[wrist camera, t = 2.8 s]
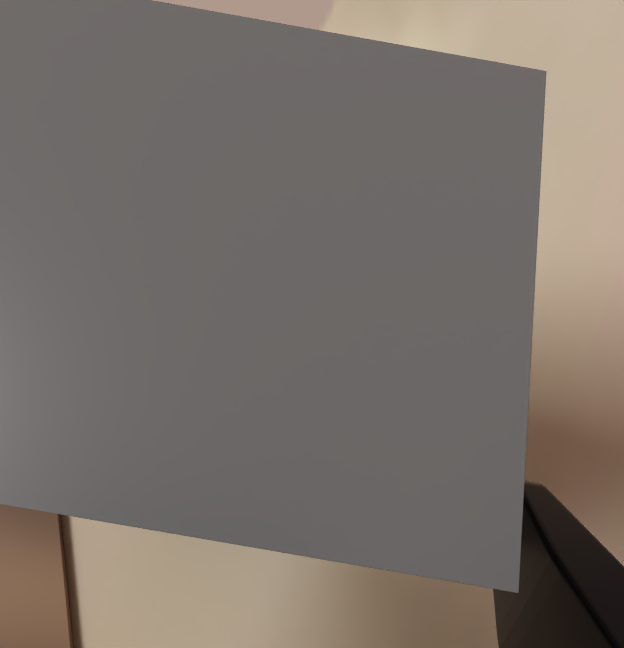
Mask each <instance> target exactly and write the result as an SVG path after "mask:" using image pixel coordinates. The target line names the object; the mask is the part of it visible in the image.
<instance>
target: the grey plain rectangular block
mask: <svg viewBox="0 0 624 648" xmlns="http://www.w3.org/2000/svg"><path fill="white" fill-rule="evenodd" d="M545 86H546V71H543V70H537V69H531V68H526V67H520V66H515V65H509V64H504V63H498V62H492V61H487V60H481V59H476V58H470V57H465V56H459V55H453V54H448V53H442V52H437V51H431V50H426V49H420V48H414V47H409V46H403V45H398V44H392V43H387V42H381V41H375V40H370V39H364V38H359V37H353V36H347V35H342V34H336V33H331V32H325V31H320V30H314V29H308V28H303V27H297V26H292V25H286V24H281V23H275V22H269V21H264V20H258V19H252V18H247V17H241V16H236V15H230V14H225V13H219V12H214V11H208V10H203V9H197V8H191V7H185V6H180V5H175V4H169V3H163V2H158V1H152V0H0V504H4V505H9V506H15V507H21V508H27V509H33V510H39V511H44V512H50V513H56V514H62V515H68V516H73V517H79V518H85V519H91V520H97V521H103V522H108V523H114V524H120V525H126V526H132V527H137V528H143V529H149V530H155V531H161V532H166V533H172V534H178V535H184V536H190V537H196V538H201V539H207V540H213V541H219V542H225V543H230V544H236V545H242V546H248V547H254V548H260V549H265V550H271V551H277V552H283V553H289V554H294V555H300V556H306V557H312V558H318V559H323V560H329V561H335V562H341V563H347V564H353V565H358V566H364V567H370V568H376V569H382V570H387V571H393V572H399V573H405V574H411V575H416V576H422V577H428V578H434V579H440V580H446V581H451V582H457V583H463V584H469V585H475V586H480V587H486V588H492V589H498V590H504V591H510V592H515V593H518V591H519V572H520V554H521V535H522V516H523V498H524V479H525V460H526V441H527V423H528V404H529V385H530V367H531V348H532V329H533V310H534V292H535V273H536V254H537V236H538V217H539V198H540V179H541V161H542V142H543V123H544V105H545Z"/></svg>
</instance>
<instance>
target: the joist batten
mask: <svg viewBox="0 0 624 648" xmlns="http://www.w3.org/2000/svg"><path fill="white" fill-rule="evenodd" d="M0 648H73V641H72V630H71V620H70V609H69V599H68V588H67V578H66V567H65V557H64V547H63V536H62V526H61V515H60V514H56V513H50V512H44V511H39V510H33V509H27V508H21V507H15V506H9V505H4V504H0Z"/></svg>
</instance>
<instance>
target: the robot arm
mask: <svg viewBox="0 0 624 648" xmlns="http://www.w3.org/2000/svg"><path fill="white" fill-rule="evenodd" d="M493 592H494V604H495V615H496V627H497V637H498V646H499V648H624V566H623V565H622V564H621V563H620V562H619V561H618V560H617V559H616V558H615V557H614V556H613V555H612V554H611V553H610V552H609V551H608V550H607V549H606V548H605V547H604V546H603V545H602V544H601V543H600V542H599V541H598V540H597V539H596V538H595V537H594V536H593V535H592V534H591V533H590V532H589V531H588V530H587V529H586V528H585V527H584V526H583V525H582V524H581V523H580V522H579V521H578V520H577V519H576V518H575V517H574V515H573V514H572V513H571V512H570V511H569V510H568V509H567V508H566V507H565V506H564V505H563V504H562V503H561V502H560V501H559V500H558V499H557V498H556V497H555V496H554V495H553V494H552V493H551V492H550V491H549V490H548V489H547V488H546V487H544V486H543V485H541V484H538V483H533V482H527V481H524V498H523V516H522V535H521V554H520V572H519V591H518V593H515V592H510V591H504V590H498V589H493Z"/></svg>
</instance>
